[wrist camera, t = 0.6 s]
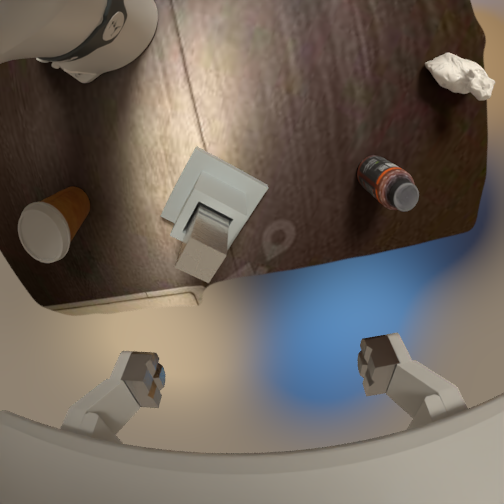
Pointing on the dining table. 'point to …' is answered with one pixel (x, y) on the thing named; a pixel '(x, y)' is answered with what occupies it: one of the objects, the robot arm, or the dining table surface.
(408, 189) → the supplement bottle
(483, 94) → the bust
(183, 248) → the column
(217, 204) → the stand base
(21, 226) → the disposable coffee cup
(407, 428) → the robot arm
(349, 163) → the dining table surface
